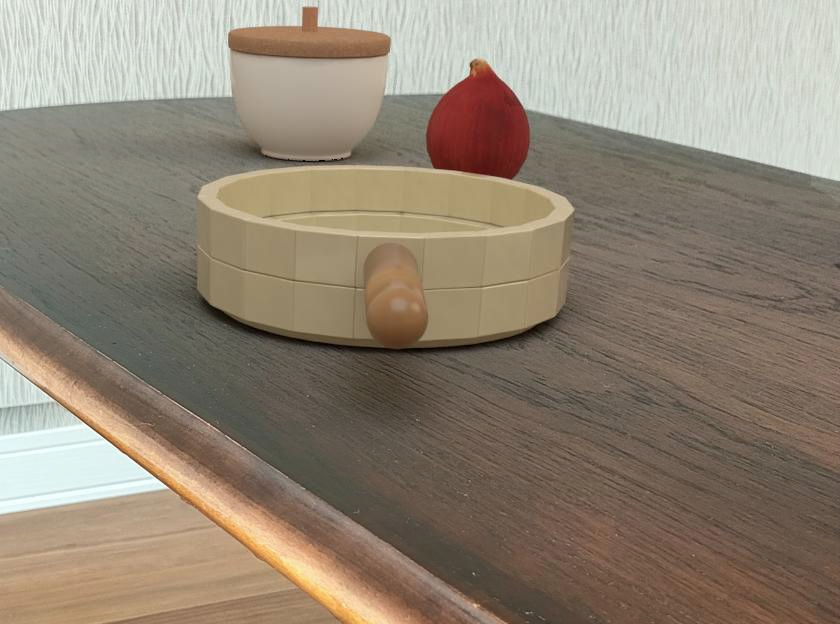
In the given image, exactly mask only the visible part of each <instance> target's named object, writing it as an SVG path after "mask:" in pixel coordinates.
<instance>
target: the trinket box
mask: <svg viewBox="0 0 840 624" xmlns="http://www.w3.org/2000/svg"><path fill="white" fill-rule="evenodd" d="M301 9H302V13H301V15H302V16H301V25H267V26H266V25H265V26H248V27H239V28H234V29H232V30H230V31H229V32H228V33H227V46H228V47H227V48H228V49H229V78H230V89H231V90H230V91H231V95H232V96H231V97H232V100H233V105H234V109H235V111H236V114H237V117H238V119H239V121H240V123H241V126H242V127H243V129H244V130H245V131H246V133H247V134H248V136H249V137H250V138H251V139H252V140H253V141H254V143H256V144H257V145H258V146H259V147H260V153H261V154H262V155H264V156H266V155H267V156H266V157H269V158H275V159H279V160H288V159H289V160H288V161H290V160H291V161H303V160H305V161H307V162H308V161H309V162H320V161H319V160H325V161H335V160H334V159H337V160H342V159H341V158H343V159H346V158H349V157H351V156H352V150H353V149H354V148H355V147H357V146H358V145H360V143H361V142H362V141H363V140H364V139H365V138H366V137H367V136H368V134H369V133H370V132H371V130H372V128H373V127H374V125H375V124H376V121H377V119H378V117H379V115H380V112H381V108H382V104H383V101H384V99H385V98H384V97H385V92H386V87H387V78H388V68H389V67H388V66H389V64H388V63H389V54H390V52H391V45H392V43H391V42H392V38H391V37H390V35H388V34H385V33H383V32H378V31H373V30H364V29H357V28H347V27H346V28H345V27H333V26H319V25H318V23H319V7H318V6H309V5H308V6H307V5H306V6H302V8H301ZM332 159H333V160H332Z"/></svg>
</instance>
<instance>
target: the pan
mask: <svg viewBox="0 0 840 624" xmlns="http://www.w3.org/2000/svg"><path fill="white" fill-rule="evenodd" d="M575 213H576V209H575V207H574V206H573V205H572V204H571V203H570V201H569V200H568V198H566V197H565V196H563V195H561V194H558V193H556V192H554V191H551V190H549V189H547V188H545V187H542V186H539V185H534V184H530V183H526V182H523V181H517V180H514V179H512V180H509V179H505V178H500V177H494V176H487V175H480V174H474V173H467V172H460V171H451V170H440V169H434V168H427V167H417V166H416V167H414V166H397V165H394V166H393V165H368V164H367V165H366V164H365V165H364V164H355V165H354V164H343V165H342V164H339V165H338V164H337V165H336V164H335V165H334V164H333V165H305V166H304V165H302V166H290V167H289V166H288V167H280V168H279V167H278V168H267V169H258V170H253V171H248V172H243V173H238V174H232V175H227V176H223V177H221V178H218V179H216V180H214V181H211V182H209V183H207V184H204V185H202V186H201V188H200V191H199V192H198V195H197V197H196V243H197V245H196V278H197V279H196V290H197V292H198V293H199V294H200V296H201V297H202V298H203V299H204V300H205V301H206V302H207V303H208V304H209V305H210V306H211V307H213V308H216V309H218V310H220V311H221V312H223V313H224V314H225V315H227V316H228V317H229V318H232V319H233V320H235V321H237V322H239V323H241V324H243V325H246V326H249V327H252V328H254V329H258V330H260V331H264V332H268V333H270V334H275V335H277V336H283V337H288V338H293V339H297V340H304V341H308V342H309V341H310V342H314V343H320V344H321V343H323V344H330V345H339V346H347V347H348V346H349V347H359V348H360V347H361V348H377V349H388V348H387V347H384V346H383V345H381V344H379V343H378V342H377V341H376V340H375V339H374V338H373V337H372V335H371V333H370V331H369V329H368V326H367V320H366V305H365V290H364V274H363V268H364V263H365V260H366V258H367V256H368V255H369V253H370V252H371V251H372V250H373V249H374V248H376V247H377V246H379V245H381V244H385V243H398V244H401V245H403V246H405V247H406V248H408V249H409V250H410V251H411V252H412V254H413V255H414V257H415V258H416V261H417V264H418V269H419V274H420V278H421V283H422V288H423V292H424V297H425V302H426V306H427V311H428V324H427V328H426V330H425V333H424V334H423V336H422V337H421V338H420V339H419V341H418V342H416V343H415V344H413V345H412V346H409V347H407V348H406V349H432V348H447V347H458V346H459V347H461V346H466V345H467V346H469V345H475V344H482V343H488V342H494V341H497V340H502V339H507V338H510V337H513V336H517V335H519V334H522V333H525V332H527V331H529V330H531V329H533V328H535V327H536V326H538V324H541V323H543V322H546V321H548V320H551V319H553V318H556V316H557V315H558V313H559V312H560V311H561V309H562V308H563V307H564V305H565V304H566V302H567V301H566V299H567V291H568V281H569V273H570V271H569V270H570V269H569V268H570V263H571V252H572V251H571V250H572V242H573V241H572V240H573V235H574V234H573V233H574V222H575Z"/></svg>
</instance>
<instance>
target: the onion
mask: <svg viewBox="0 0 840 624" xmlns="http://www.w3.org/2000/svg"><path fill="white" fill-rule="evenodd" d="M468 65H469V75H468V76H466V77H465V78H464V79H461V81H459V82H457V83H456V84H454V85H453V86H452V87H451V88H450V89H449V90H447V92H446V93H445V94H444V95H443V96H442V97H441V99H440V100H438V102H437V103H436V106H435V107H434V109H433V111H432V113H431V115H430V118H429V120H428V123H427V127H426V133H425V141H426V142H425V143H426V144H425V145H426V152H427V154H428V157H429V160H430V162H431V165H432V167H433V169H440V170H451V171H460V172H467V173H474V174H480V175H487V176H494V177H500V178H505V179H509V180H514V178H515V177H516V176H517V175H518V174H519V173H520V171H521V169H522V167H523V165H524V164H525V162H526V160H527V158H528V153H529V149H530V145H531V129H530V122H529V119H528V115H527V113H526V111H525V108H524V106H523V104H522V102H521V101H520V99H519V98H518V96H517V94H515V92H514V91H513V90H512V88H511V87H510V86H509V85H508V84H507V83H506V82H504V80H503V79H501V78H500V77H499V76H498V74H497V73H496V72H495V71H494V70H493V68H492V66H491V65H490V64H489V62H487V60H485V59H482V58H474V59H472V60H471V61H470V62H469V64H468Z"/></svg>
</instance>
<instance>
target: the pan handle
mask: <svg viewBox="0 0 840 624" xmlns="http://www.w3.org/2000/svg"><path fill="white" fill-rule="evenodd" d="M363 274H364V290H365V305H366V320H367V326H368V329H369V331H370V333H371V335H372V337H373V338H374V339H375V340H376V341H377V342H378V343H379V344H381V345H383V346H384V347H387V348H386V349H390V350H391V349H392V350H403V349H408V348H407V347H409V346H412V345H413V344H415V343H416V342H418V341H419V339H420V338H421V337H422V336H423V334H424V333H425V330H426V328H427V324H428V311H427V306H426V302H425V297H424V292H423V288H422V283H421V278H420V274H419V269H418V264H417V261H416V258H415V257H414V255H413V254H412V252H411V251H410V250H409V249H408V248H406V247H405V246H403V245H401V244H398V243H385V244H381V245H379V246H377V247H376V248H374V249H373V250H372V251H371V252H370V253H369V255H368V256H367V258H366V260H365V263H364V268H363Z"/></svg>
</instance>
